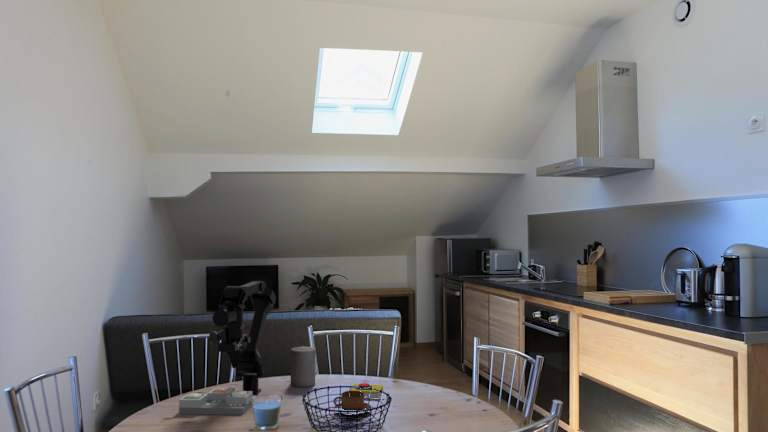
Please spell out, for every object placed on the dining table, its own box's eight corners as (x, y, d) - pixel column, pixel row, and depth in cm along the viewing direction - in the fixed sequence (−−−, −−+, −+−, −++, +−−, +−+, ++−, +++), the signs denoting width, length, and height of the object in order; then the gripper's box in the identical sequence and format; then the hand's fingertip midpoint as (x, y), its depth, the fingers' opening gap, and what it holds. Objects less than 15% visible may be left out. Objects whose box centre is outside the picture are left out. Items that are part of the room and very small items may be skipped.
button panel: (196, 400, 194) (197, 387, 194) (255, 401, 193) (256, 388, 193) (178, 413, 179) (179, 399, 179) (242, 414, 178) (242, 400, 178)
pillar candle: (285, 384, 215) (285, 345, 216) (304, 379, 223) (304, 342, 224) (301, 388, 209) (302, 348, 210) (320, 383, 217) (320, 345, 217)
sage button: (189, 400, 185) (189, 393, 185) (203, 401, 185) (203, 393, 185) (183, 405, 180) (183, 397, 180) (198, 405, 180) (198, 397, 180)
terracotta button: (217, 394, 193) (217, 387, 193) (230, 394, 193) (230, 387, 193) (212, 398, 188) (212, 390, 188) (226, 398, 188) (226, 391, 188)
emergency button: (349, 380, 206) (389, 381, 204) (349, 392, 206) (389, 394, 204) (344, 386, 197) (385, 388, 195) (344, 399, 197) (385, 401, 195)
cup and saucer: (341, 420, 172) (341, 400, 173) (329, 410, 183) (329, 391, 184) (376, 415, 177) (376, 396, 178) (362, 405, 188) (362, 387, 189)
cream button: (234, 397, 188) (234, 390, 189) (248, 398, 188) (248, 390, 188) (230, 402, 184) (230, 394, 184) (244, 402, 183) (244, 394, 184)
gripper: (221, 318, 202) (220, 361, 201) (201, 326, 183) (201, 374, 183) (251, 318, 201) (250, 362, 201) (234, 326, 183) (234, 374, 182)
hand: (234, 367), depth 191 cm, fingers closed
